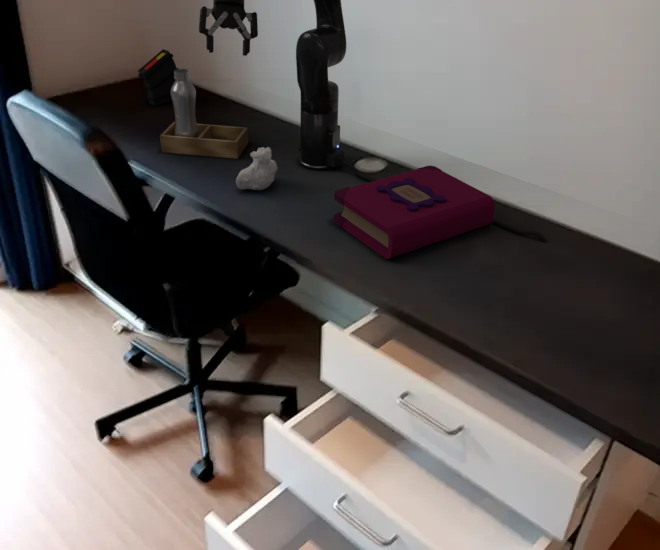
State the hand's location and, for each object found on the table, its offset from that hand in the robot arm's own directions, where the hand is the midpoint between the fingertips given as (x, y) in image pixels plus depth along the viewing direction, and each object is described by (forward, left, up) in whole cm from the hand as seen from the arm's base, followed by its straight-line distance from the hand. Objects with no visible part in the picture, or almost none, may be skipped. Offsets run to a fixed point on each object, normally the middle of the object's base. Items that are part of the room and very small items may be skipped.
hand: (228, 53), depth 178 cm
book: (-55, +25, -25) cm, 65 cm away
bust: (-17, +20, -25) cm, 36 cm away
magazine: (+35, -25, -25) cm, 50 cm away
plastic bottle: (+11, +4, -25) cm, 27 cm away
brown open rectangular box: (+6, +3, -24) cm, 26 cm away
